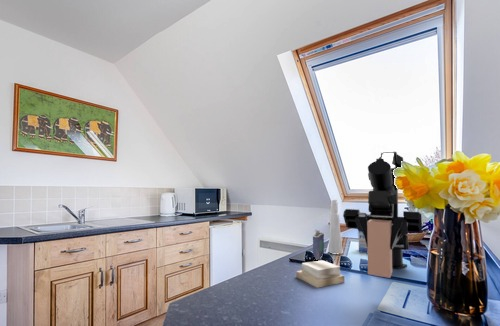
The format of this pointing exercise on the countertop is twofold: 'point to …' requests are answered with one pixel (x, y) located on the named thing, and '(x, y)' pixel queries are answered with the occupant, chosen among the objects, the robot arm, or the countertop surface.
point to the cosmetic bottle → (335, 230)
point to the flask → (318, 244)
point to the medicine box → (362, 242)
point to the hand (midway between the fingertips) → (379, 247)
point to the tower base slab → (319, 282)
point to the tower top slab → (320, 269)
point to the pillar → (379, 247)
